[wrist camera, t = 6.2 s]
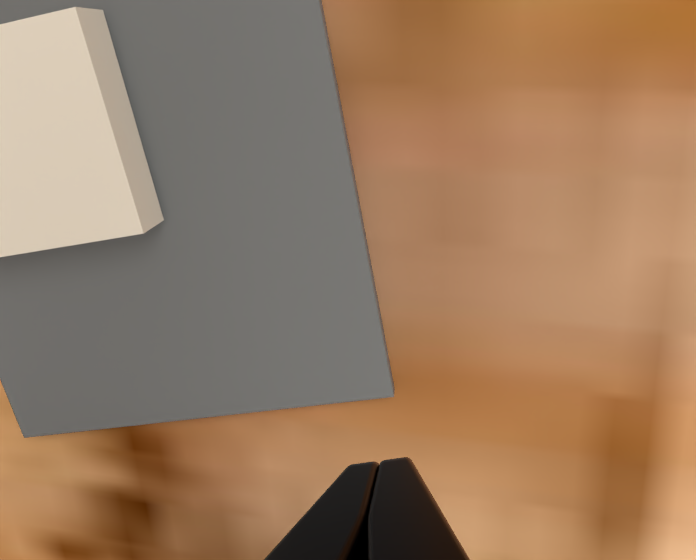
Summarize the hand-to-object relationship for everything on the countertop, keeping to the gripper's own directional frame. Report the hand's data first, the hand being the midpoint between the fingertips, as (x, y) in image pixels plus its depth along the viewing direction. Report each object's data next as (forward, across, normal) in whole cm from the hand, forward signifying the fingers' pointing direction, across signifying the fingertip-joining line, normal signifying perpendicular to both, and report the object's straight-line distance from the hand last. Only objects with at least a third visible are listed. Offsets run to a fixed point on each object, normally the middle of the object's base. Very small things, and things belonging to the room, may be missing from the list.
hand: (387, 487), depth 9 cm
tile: (+10, +7, -5) cm, 13 cm away
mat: (+12, +8, -4) cm, 15 cm away
